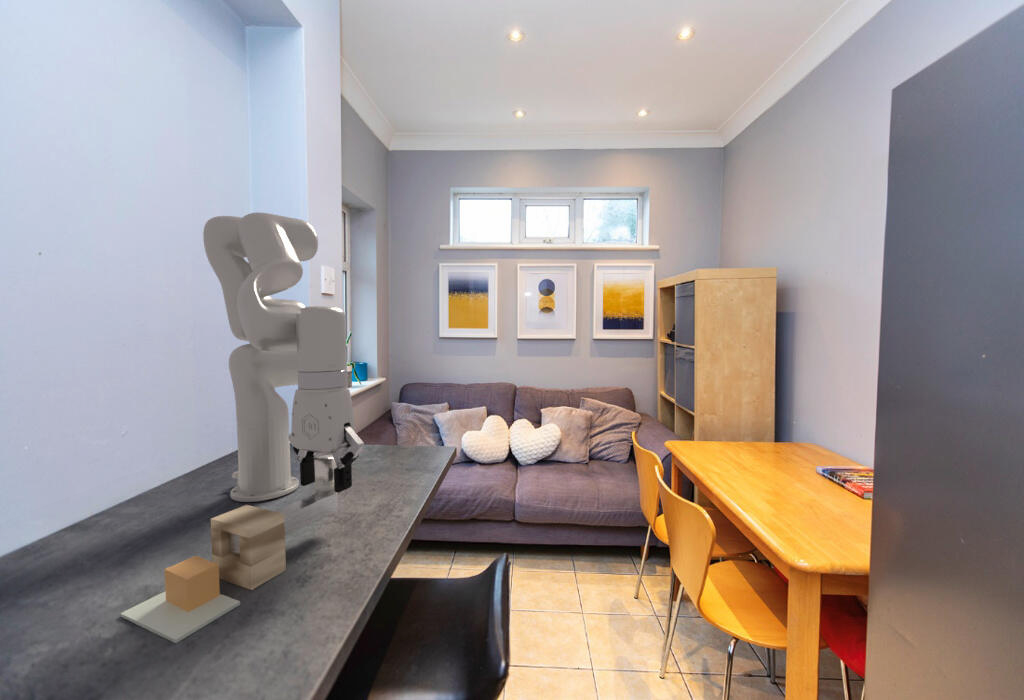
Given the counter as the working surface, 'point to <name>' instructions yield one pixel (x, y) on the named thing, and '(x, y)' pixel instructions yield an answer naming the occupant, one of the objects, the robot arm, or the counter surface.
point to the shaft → (308, 501)
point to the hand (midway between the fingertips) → (326, 485)
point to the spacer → (192, 583)
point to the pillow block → (249, 545)
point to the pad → (177, 616)
